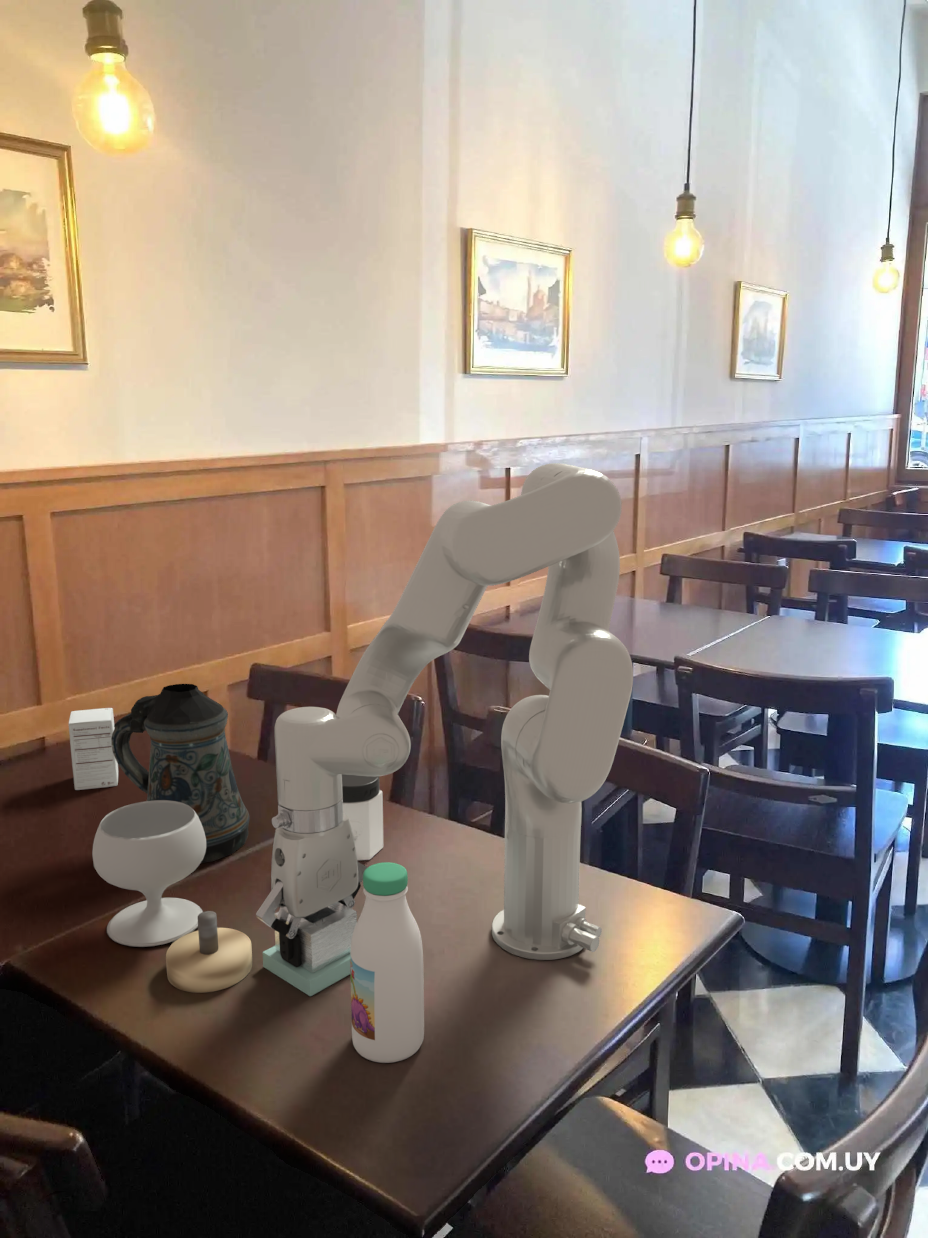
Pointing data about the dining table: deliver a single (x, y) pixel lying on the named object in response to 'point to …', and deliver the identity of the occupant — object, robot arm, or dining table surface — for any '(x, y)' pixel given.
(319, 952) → the collar
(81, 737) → the supplement box
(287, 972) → the stand
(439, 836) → the dining table surface
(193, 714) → the beer stein
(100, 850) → the chalice
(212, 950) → the hub
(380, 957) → the milk bottle
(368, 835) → the jar
